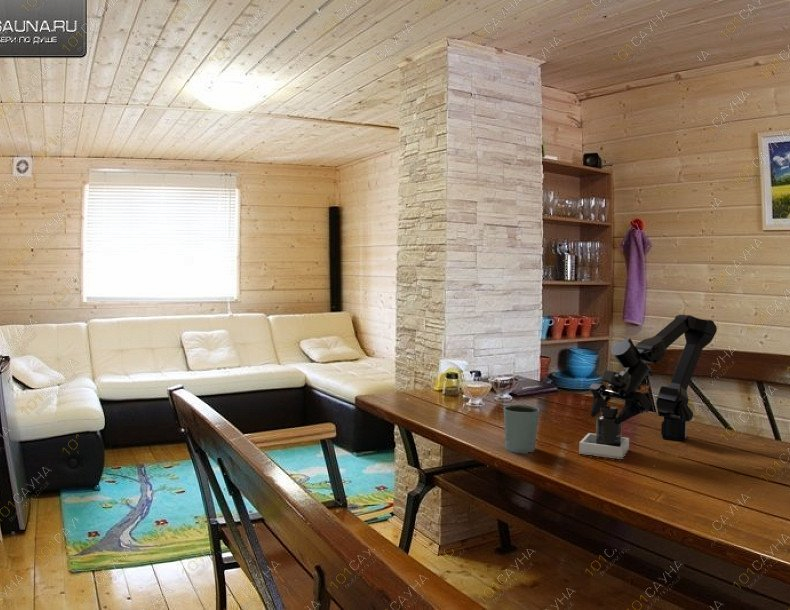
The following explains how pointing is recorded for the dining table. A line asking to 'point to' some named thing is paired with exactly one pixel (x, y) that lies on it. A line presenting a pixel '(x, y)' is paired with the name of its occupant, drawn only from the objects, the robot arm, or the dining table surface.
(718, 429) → the dining table surface
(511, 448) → the grey-green cup
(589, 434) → the tray
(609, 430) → the supplement bottle
